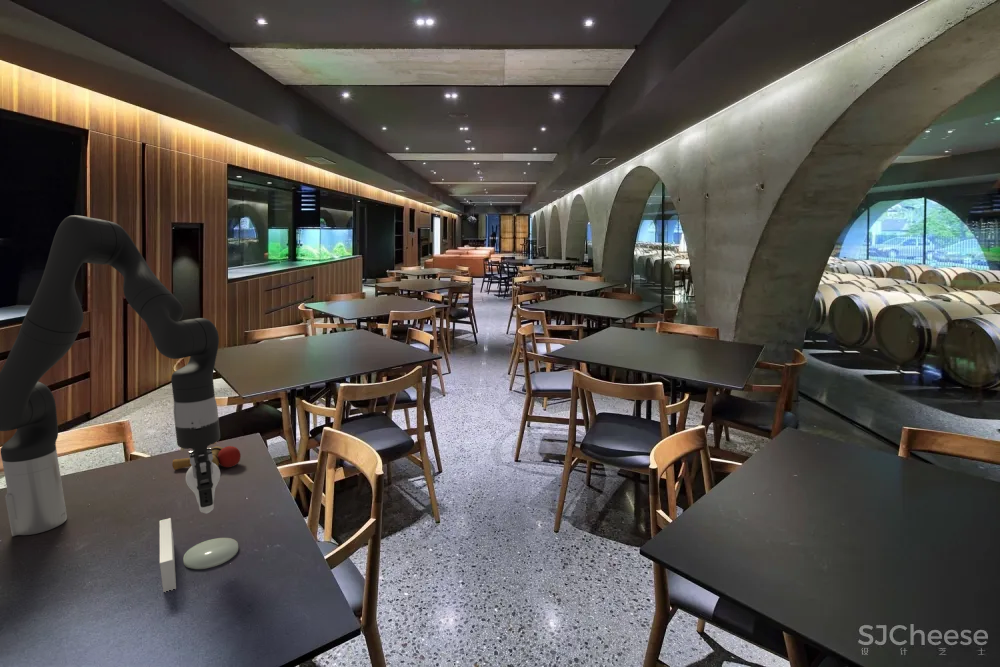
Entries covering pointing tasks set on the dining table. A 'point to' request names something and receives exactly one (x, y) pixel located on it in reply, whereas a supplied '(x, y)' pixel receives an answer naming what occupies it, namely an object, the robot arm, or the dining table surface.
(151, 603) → the dining table surface
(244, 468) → the dining table surface
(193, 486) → the lightbulb
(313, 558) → the dining table surface
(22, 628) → the dining table surface
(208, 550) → the pad
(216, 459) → the kendama
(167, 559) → the wall
